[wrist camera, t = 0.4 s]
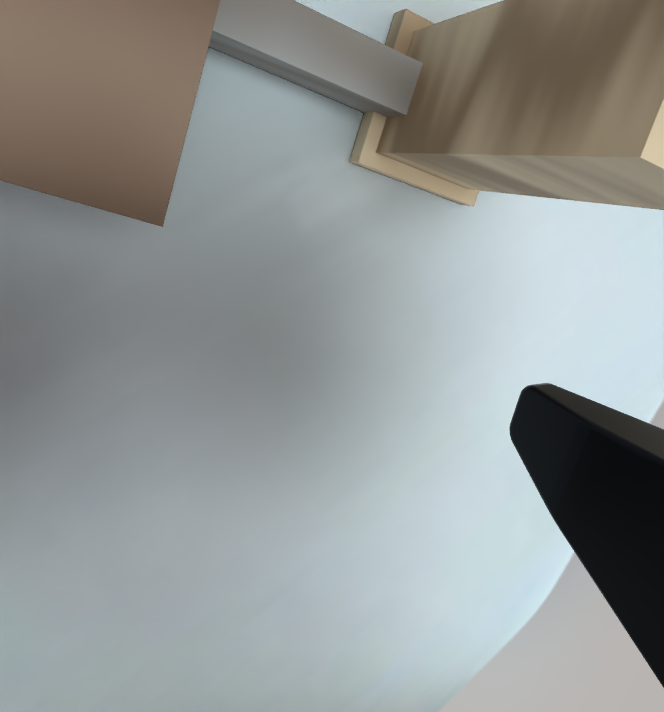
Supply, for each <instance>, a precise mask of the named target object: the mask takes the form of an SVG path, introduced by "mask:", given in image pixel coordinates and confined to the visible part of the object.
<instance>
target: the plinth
mask: <svg viewBox="0 0 664 712" xmlns="http://www.w3.org/2000/svg"><path fill="white" fill-rule="evenodd" d="M219 3H220V0H0V180H1V181H4V182H8V183H11V184H15V185H18V186H22V187H25V188H29V189H32V190H36V191H39V192H43V193H46V194H50V195H53V196H57V197H60V198H64V199H67V200H71V201H74V202H78V203H81V204H85V205H88V206H92V207H95V208H99V209H102V210H106V211H109V212H113V213H116V214H120V215H123V216H127V217H130V218H134V219H137V220H141V221H144V222H148V223H151V224H155V225H158V226H162V227H163V223H164V219H165V215H166V211H167V207H168V204H169V200H170V196H171V192H172V188H173V184H174V180H175V176H176V172H177V168H178V164H179V160H180V156H181V152H182V149H183V145H184V141H185V137H186V133H187V129H188V125H189V121H190V117H191V113H192V109H193V105H194V101H195V98H196V94H197V90H198V86H199V82H200V78H201V74H202V70H203V66H204V62H205V58H206V54H207V50H208V46H209V43H210V39H211V35H212V31H213V27H214V23H215V19H216V15H217V11H218V7H219Z"/></svg>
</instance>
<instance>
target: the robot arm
mask: <svg viewBox="0 0 664 712" xmlns="http://www.w3.org/2000/svg"><path fill="white" fill-rule="evenodd" d="M510 436H511V440H512V442H513V444H514V446H515V448H516V450H517V452H518V453H519V455H520V457H521V459H522V461H523V463H524V465H525V467H526V469H527V471H528V472H529V474H530V476H531V478H532V480H533V482H534V484H535V486H536V488H537V490H538V491H539V493H540V495H541V497H542V499H543V501H544V503H545V505H546V507H547V508H548V510H549V512H550V514H551V516H552V517H553V519H554V521H555V522H556V524H557V525H558V527H559V529H560V530H561V532H562V533H563V535H564V536H565V538H566V539H567V541H568V543H569V544H570V546H571V547H572V549H573V550H574V552H575V553H576V555H577V556H578V558H579V559H580V561H581V562H582V564H583V565H584V567H585V568H586V570H587V572H588V573H589V575H590V576H591V578H592V579H593V581H594V582H595V584H596V585H597V587H598V588H599V590H600V591H601V593H602V594H603V596H604V597H605V599H606V600H607V602H608V604H609V605H610V606H611V608H612V610H613V611H614V613H615V614H616V616H617V617H618V619H619V620H620V622H621V623H622V625H623V626H624V628H625V629H626V631H627V632H628V634H629V635H630V637H631V639H632V640H633V642H634V643H635V645H636V646H637V648H638V649H639V651H640V652H641V654H642V655H643V657H644V658H645V660H646V662H647V663H648V665H649V666H650V668H651V669H652V671H653V672H654V674H655V675H656V677H657V678H658V680H659V681H660V683H661V684H662V686H663V687H664V429H661V428H659V427H656V426H654V425H651V424H649V423H646V422H644V421H642V420H639V419H637V418H634V417H632V416H629V415H627V414H624V413H622V412H619V411H617V410H614V409H612V408H609V407H607V406H605V405H602V404H600V403H597V402H595V401H592V400H590V399H587V398H585V397H582V396H580V395H577V394H575V393H573V392H570V391H568V390H565V389H563V388H560V387H558V386H555V385H553V384H549V383H542V384H535V385H529V386H527V387H525V388H524V389H523V390H522V391H521V394H520V396H519V399H518V402H517V405H516V408H515V411H514V414H513V417H512V420H511V424H510Z"/></svg>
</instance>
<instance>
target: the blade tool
mask: <svg viewBox="0 0 664 712" xmlns="http://www.w3.org/2000/svg"><path fill="white" fill-rule="evenodd" d="M208 47H211V48H213V49H215V50H218V51H220V52H222V53H225V54H227V55H229V56H232V57H234V58H236V59H239V60H241V61H244V62H246V63H248V64H251V65H253V66H255V67H258V68H260V69H262V70H265V71H267V72H269V73H272V74H274V75H276V76H279V77H281V78H283V79H286V80H288V81H291V82H293V83H295V84H298V85H300V86H302V87H305V88H307V89H309V90H312V91H314V92H316V93H319V94H321V95H323V96H326V97H328V98H331V99H333V100H335V101H338V102H340V103H342V104H345V105H347V106H349V107H352V108H354V109H356V110H359V111H361V112H363V113H364V115H363V118H362V122H361V125H360V128H359V131H358V135H357V138H356V141H355V144H354V148H353V151H352V154H351V157H350V161H349V162H351V163H354V164H356V165H359V166H362V167H364V168H367V169H369V170H372V171H375V172H377V173H380V174H383V175H385V176H388V177H390V178H393V179H396V180H398V181H401V182H404V183H406V184H409V185H411V186H414V187H417V188H419V189H422V190H425V191H427V192H430V193H432V194H435V195H438V196H440V197H443V198H446V199H448V200H451V201H453V202H456V203H459V204H461V205H467V206H474V204H475V201H476V198H477V195H478V193H479V190H481V191H490V192H500V193H509V194H518V195H528V196H537V197H547V198H556V199H565V200H575V201H584V202H594V203H603V204H612V205H622V206H631V207H640V208H650V209H659V210H664V0H504V1H501V2H498V3H495V4H492V5H489V6H486V7H483V8H480V9H477V10H474V11H471V12H468V13H466V14H463V15H460V16H457V17H454V18H451V19H448V20H445V21H442V22H439V23H436V24H434V23H432V22H430V21H428V20H427V19H425V18H423V17H421V16H419V15H417V14H415V13H413V12H411V11H409V10H408V9H404V10H402V11H399V12H397V13H395V14H394V17H393V21H392V24H391V27H390V30H389V34H388V37H387V40H386V44H385V45H384V44H382V43H380V42H378V41H376V40H374V39H372V38H370V37H368V36H366V35H364V34H361V33H359V32H357V31H355V30H353V29H351V28H349V27H347V26H345V25H343V24H341V23H339V22H337V21H335V20H333V19H331V18H329V17H327V16H325V15H323V14H321V13H319V12H316V11H314V10H312V9H310V8H308V7H306V6H304V5H302V4H300V3H298V2H296V1H294V0H220V3H219V7H218V11H217V15H216V19H215V23H214V27H213V31H212V35H211V39H210V43H209V46H208Z"/></svg>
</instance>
